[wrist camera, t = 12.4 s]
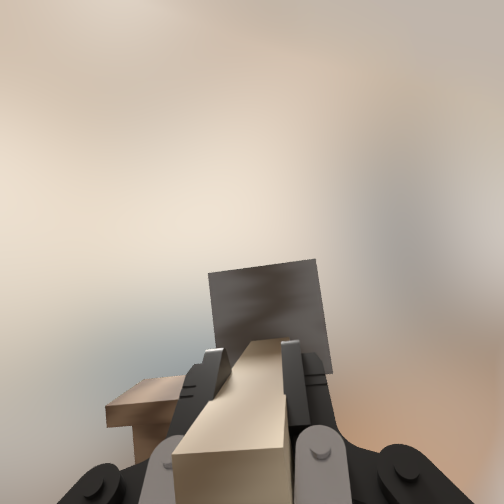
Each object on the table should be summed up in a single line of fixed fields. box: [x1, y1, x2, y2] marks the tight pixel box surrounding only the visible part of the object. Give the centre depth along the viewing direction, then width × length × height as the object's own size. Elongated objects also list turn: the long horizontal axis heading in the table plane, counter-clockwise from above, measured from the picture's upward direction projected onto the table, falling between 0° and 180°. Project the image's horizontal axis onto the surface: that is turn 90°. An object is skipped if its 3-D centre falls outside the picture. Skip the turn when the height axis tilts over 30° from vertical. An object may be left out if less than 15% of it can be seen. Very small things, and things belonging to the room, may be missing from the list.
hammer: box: [171, 259, 333, 504], centre depth 15 cm, size 7×17×7 cm, turn 173°
